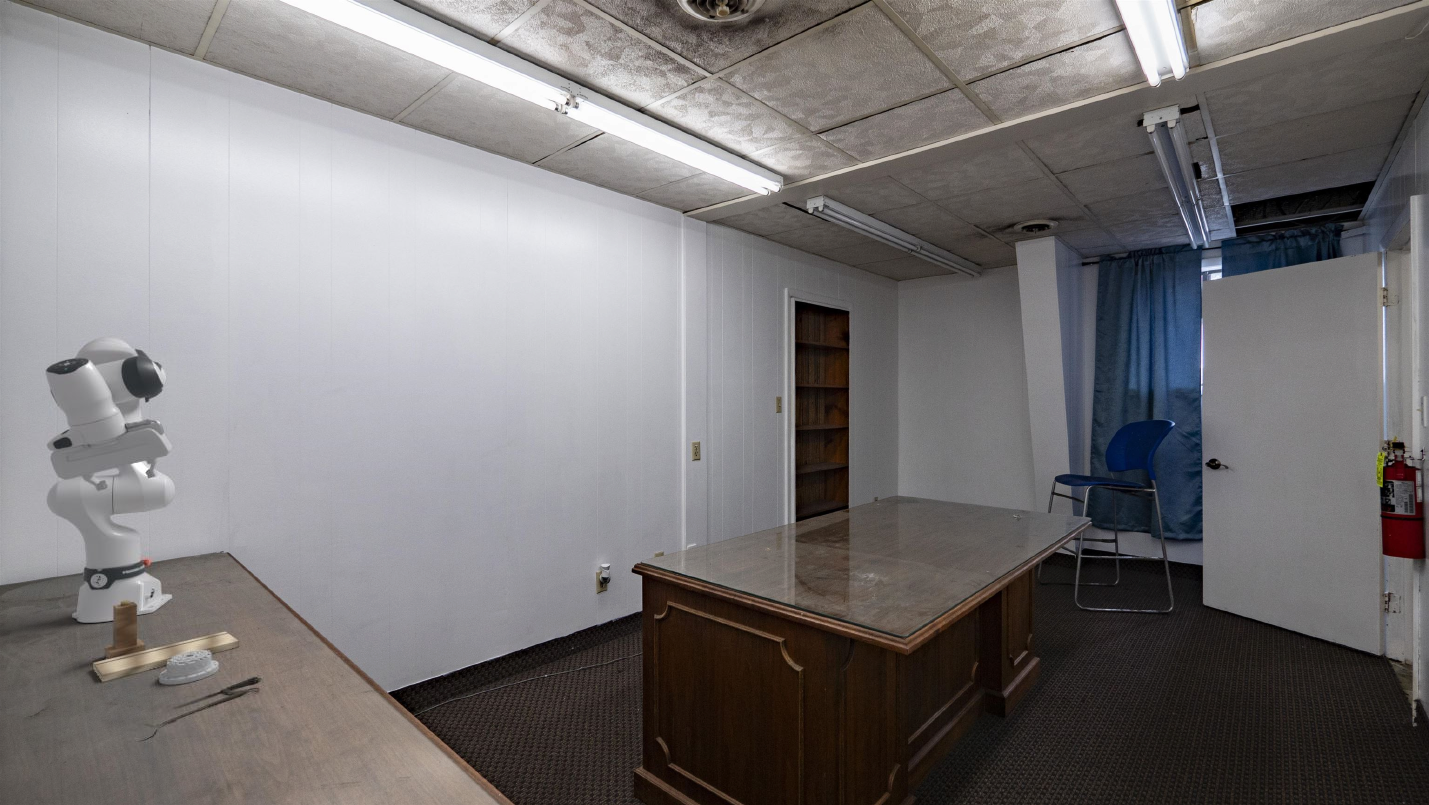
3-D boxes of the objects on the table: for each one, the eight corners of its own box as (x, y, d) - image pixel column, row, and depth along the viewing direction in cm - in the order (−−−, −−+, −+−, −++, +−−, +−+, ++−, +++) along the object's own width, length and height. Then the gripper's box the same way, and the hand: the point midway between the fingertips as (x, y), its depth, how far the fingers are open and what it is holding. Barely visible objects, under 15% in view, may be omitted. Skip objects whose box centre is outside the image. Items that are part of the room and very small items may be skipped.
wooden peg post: (110, 663, 143) (110, 607, 142) (104, 657, 146) (104, 602, 146) (145, 655, 147) (145, 601, 147) (138, 648, 151) (139, 596, 151)
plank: (102, 681, 133) (102, 674, 133) (93, 669, 139) (93, 662, 139) (238, 646, 152) (238, 640, 152) (225, 637, 158) (225, 631, 158)
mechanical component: (146, 683, 133) (184, 688, 131) (146, 663, 133) (184, 667, 131) (194, 664, 143) (230, 668, 141) (194, 645, 143) (230, 648, 141)
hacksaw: (258, 680, 135) (258, 673, 135) (283, 691, 130) (283, 684, 130) (109, 731, 114) (109, 723, 114) (132, 747, 109) (132, 738, 109)
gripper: (161, 413, 149) (185, 464, 154) (49, 437, 141) (78, 490, 146) (153, 421, 143) (179, 474, 149) (36, 447, 135) (67, 502, 140)
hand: (128, 482), depth 147 cm, fingers open, 8 cm apart
